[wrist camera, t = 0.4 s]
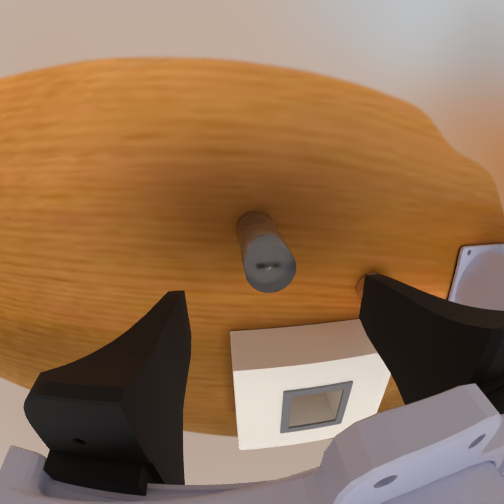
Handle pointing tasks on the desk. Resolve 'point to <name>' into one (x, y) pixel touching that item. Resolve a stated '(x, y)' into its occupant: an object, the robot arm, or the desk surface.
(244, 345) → the pin block
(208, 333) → the desk surface
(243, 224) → the long pin
